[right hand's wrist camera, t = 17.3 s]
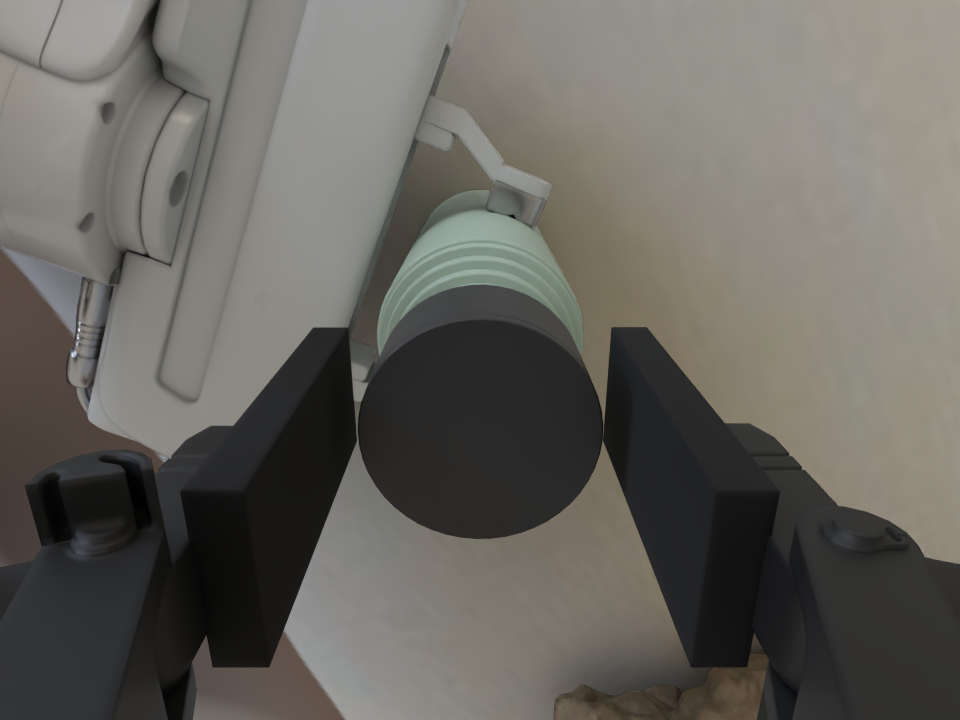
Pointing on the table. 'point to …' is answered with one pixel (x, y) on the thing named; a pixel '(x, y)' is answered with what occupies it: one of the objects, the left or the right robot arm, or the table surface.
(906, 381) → the table surface
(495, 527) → the cap
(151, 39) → the left robot arm
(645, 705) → the stone
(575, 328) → the bottle
